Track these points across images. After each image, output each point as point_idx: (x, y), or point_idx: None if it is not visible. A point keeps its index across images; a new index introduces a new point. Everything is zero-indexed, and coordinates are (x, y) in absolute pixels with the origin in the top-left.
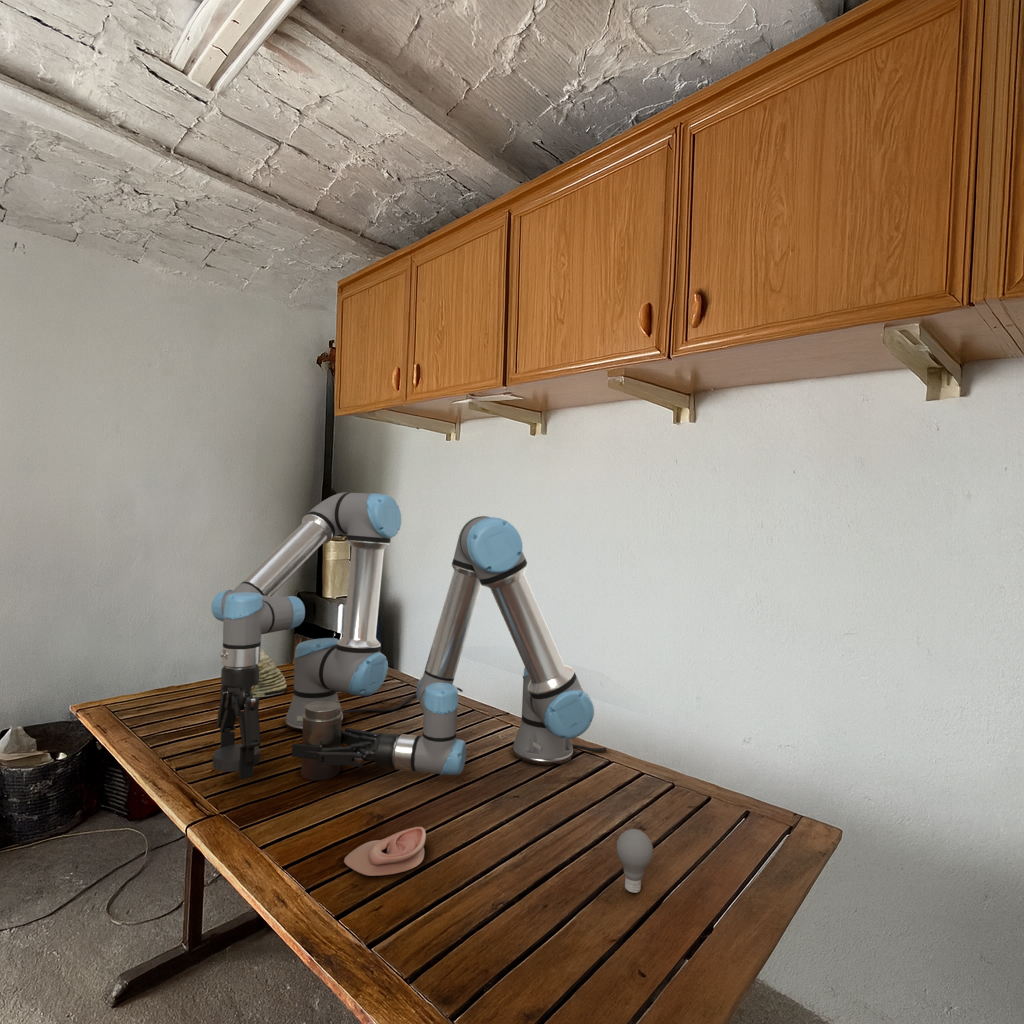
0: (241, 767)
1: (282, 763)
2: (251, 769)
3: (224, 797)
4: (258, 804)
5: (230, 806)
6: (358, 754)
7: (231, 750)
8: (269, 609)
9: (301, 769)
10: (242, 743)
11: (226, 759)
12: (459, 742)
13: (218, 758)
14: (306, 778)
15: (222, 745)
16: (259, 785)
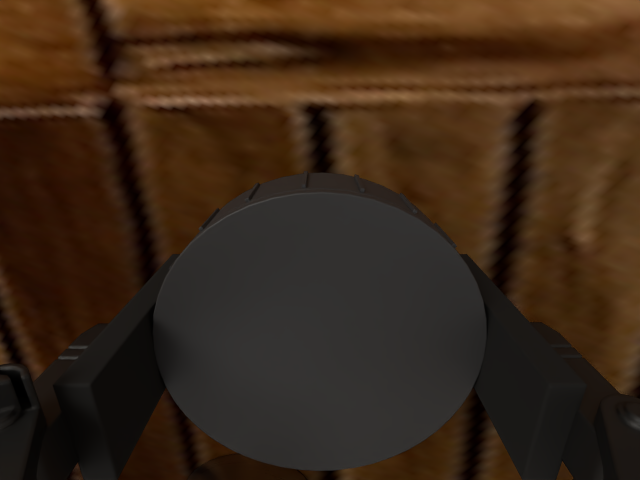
0: (141, 292)
1: (411, 453)
2: None
3: (262, 177)
4: (113, 257)
5: (157, 163)
6: None
7: (371, 338)
8: None
9: (264, 476)
10: (16, 434)
11: (213, 246)
12: None
13: (273, 206)
14: (224, 457)
15: (497, 323)
16: None
